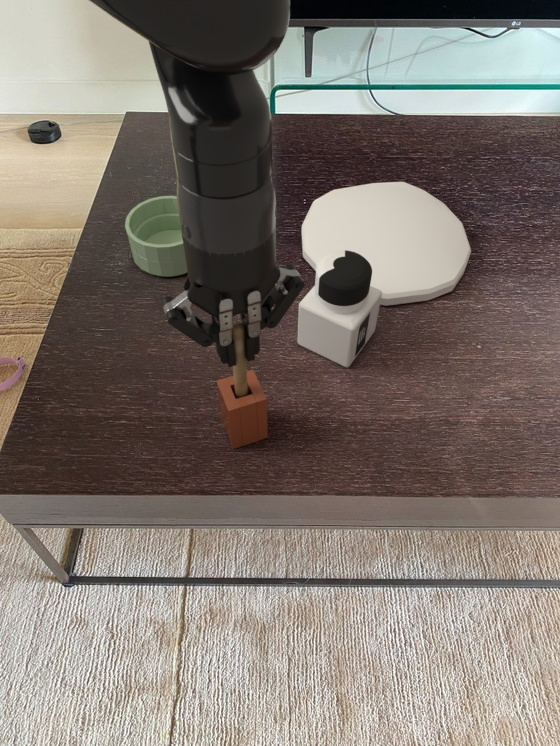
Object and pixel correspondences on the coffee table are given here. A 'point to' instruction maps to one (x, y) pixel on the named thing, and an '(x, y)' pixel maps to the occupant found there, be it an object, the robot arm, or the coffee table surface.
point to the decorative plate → (391, 238)
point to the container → (339, 308)
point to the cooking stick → (239, 361)
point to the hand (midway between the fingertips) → (238, 357)
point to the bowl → (157, 237)
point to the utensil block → (243, 411)
